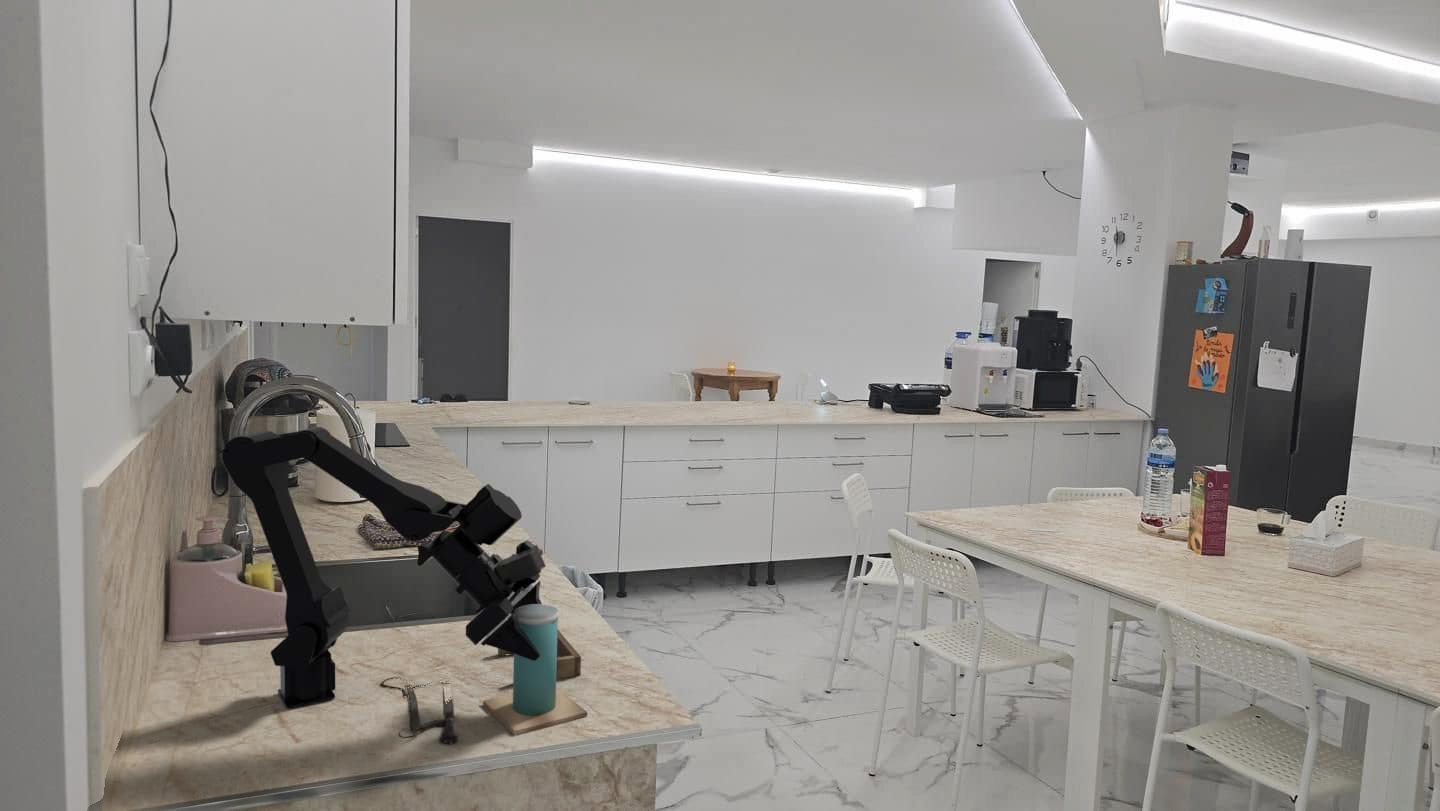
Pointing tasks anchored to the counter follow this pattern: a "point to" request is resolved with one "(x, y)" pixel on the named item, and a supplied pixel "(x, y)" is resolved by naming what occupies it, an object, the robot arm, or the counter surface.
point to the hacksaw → (415, 725)
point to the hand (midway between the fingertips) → (545, 645)
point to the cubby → (562, 658)
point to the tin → (536, 661)
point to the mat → (526, 723)
